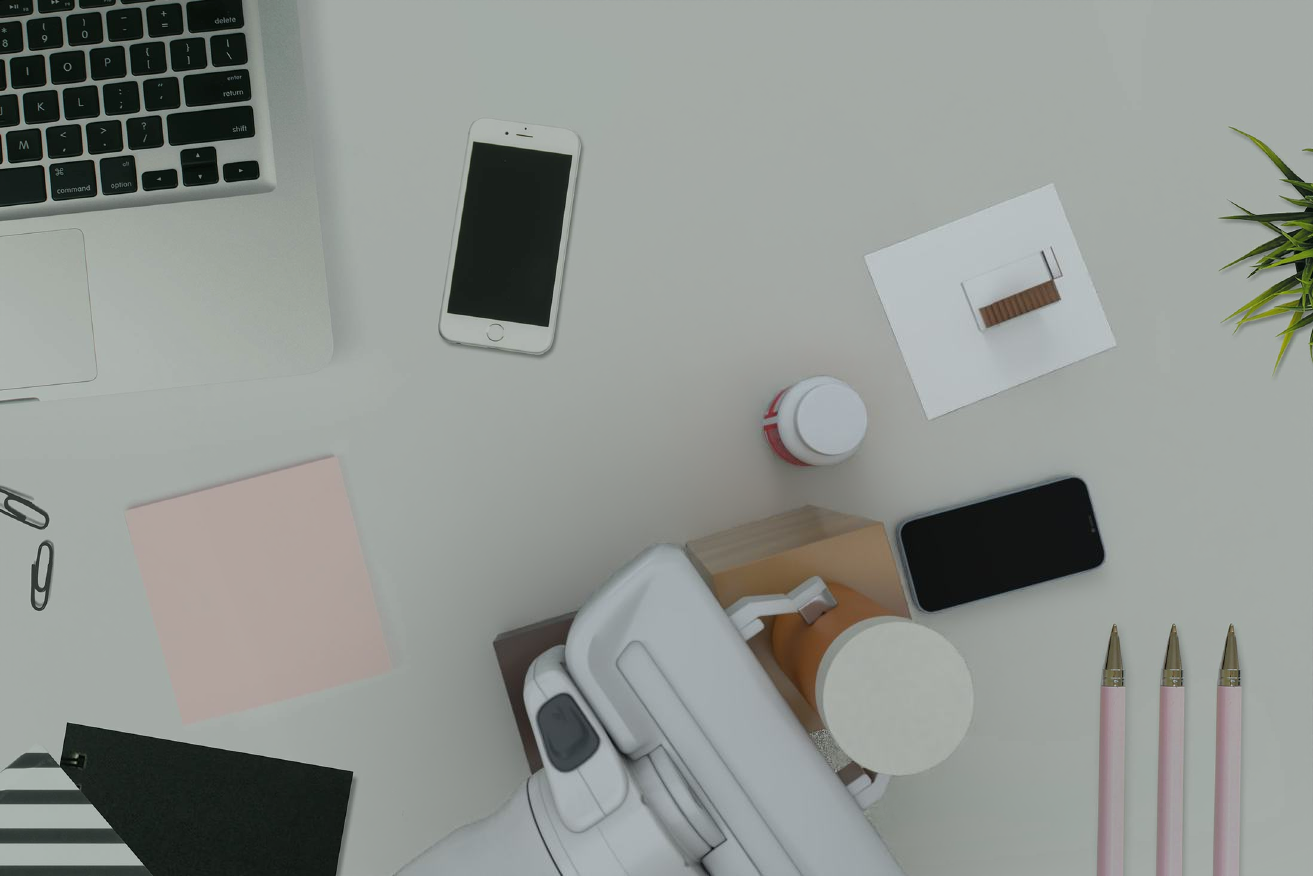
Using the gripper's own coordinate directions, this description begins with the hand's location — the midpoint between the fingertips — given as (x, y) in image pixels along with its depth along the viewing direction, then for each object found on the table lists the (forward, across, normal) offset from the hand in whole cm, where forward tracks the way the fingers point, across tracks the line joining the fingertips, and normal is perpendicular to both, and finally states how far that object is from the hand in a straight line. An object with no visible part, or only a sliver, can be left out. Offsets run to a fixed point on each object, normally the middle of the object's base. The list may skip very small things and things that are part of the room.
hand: (870, 651), depth 46 cm
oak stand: (-1, 0, +27) cm, 27 cm away
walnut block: (-16, +2, +27) cm, 32 cm away
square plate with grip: (+26, +8, +27) cm, 38 cm away
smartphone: (+16, -7, +27) cm, 32 cm away
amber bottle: (-1, 0, +6) cm, 7 cm away
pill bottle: (+8, +9, +27) cm, 30 cm away
